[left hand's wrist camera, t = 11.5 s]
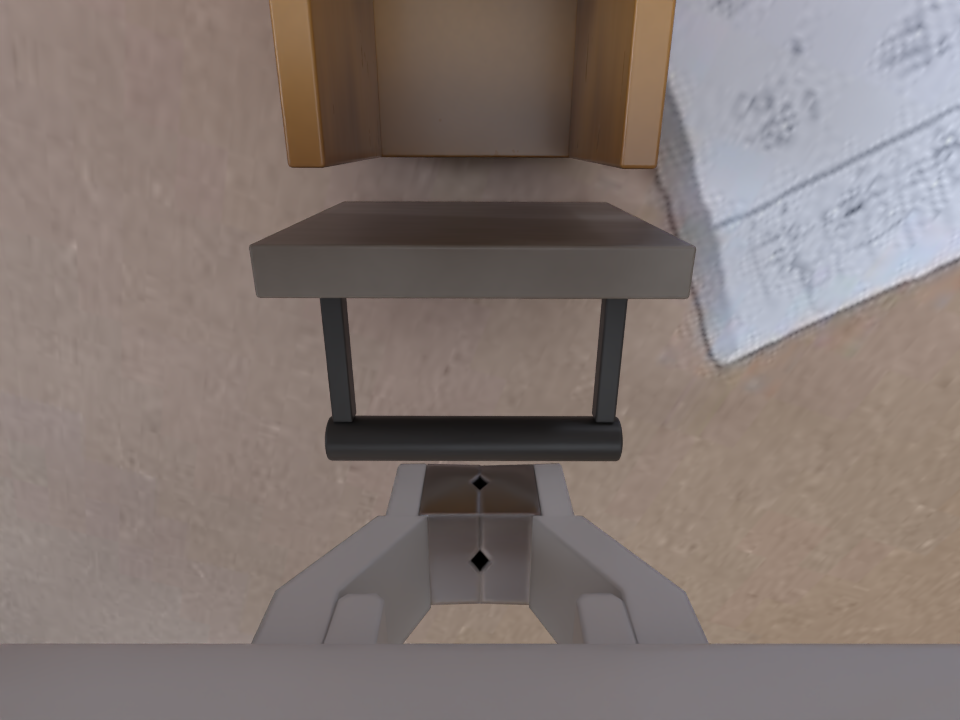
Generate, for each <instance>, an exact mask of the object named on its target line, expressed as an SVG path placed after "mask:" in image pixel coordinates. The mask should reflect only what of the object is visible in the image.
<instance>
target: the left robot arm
mask: <svg viewBox="0 0 960 720" xmlns="http://www.w3.org/2000/svg"><path fill="white" fill-rule="evenodd" d="M477 603H481V604H517V605H529V608H530V609H531V610H532V611H533V613H534V614H535V615H536V617H537V618H538V619H539V620H540V622H541V623H542V624H543V626H544V627H545V628H546V629H547V631H548V632H549V633H550V635H551V636H552V637H553V639H554V640H555V641H556V642H557V644H403V643H404V641H405V640H406V639H407V638H408V636H409V635H410V634H411V632H412V631H413V630H414V629H415V627H416V626H417V625H418V624H419V622H420V621H421V620H422V618H423V617H424V616H425V615H426V613H427V612H428V611H429V609H430V608H431V605H442V604H477ZM0 720H960V644H709V643H708V641H707V639H706V636H705V634H704V632H703V630H702V628H701V625H700V623H699V621H698V619H697V617H696V614H695V612H694V610H693V608H692V606H691V603H690V601H689V599H688V597H687V595H686V592H685V591H684V590H682V589H681V588H679V587H678V586H677V585H675V584H674V583H673V582H671V581H670V580H669V579H667V578H666V577H665V576H663V575H662V574H660V573H659V572H658V571H656V570H655V569H654V568H652V567H651V566H650V565H648V564H647V563H645V562H644V561H643V560H641V559H640V558H639V557H637V556H636V555H635V554H633V553H632V552H631V551H629V550H628V549H626V548H625V547H624V546H622V545H621V544H620V543H618V542H617V541H616V540H614V539H613V538H612V537H610V536H609V535H607V534H606V533H605V532H603V531H602V530H601V529H599V528H598V527H597V526H595V525H594V524H593V523H591V522H590V521H588V520H587V519H586V518H584V517H583V516H574V512H573V508H572V505H571V501H570V497H569V493H568V489H567V485H566V481H565V477H564V473H563V470H562V466H561V465H560V464H559V463H555V464H528V465H488V466H480V465H457V464H428V465H426V464H400V466H399V467H398V469H397V473H396V477H395V481H394V485H393V489H392V493H391V496H390V500H389V504H388V508H387V512H386V516H377V517H376V518H374V519H373V520H372V521H370V522H369V523H367V524H366V525H365V526H363V527H362V528H361V529H359V530H358V531H357V532H355V533H354V534H352V535H351V536H350V537H348V538H347V539H346V540H344V541H343V542H342V543H340V544H339V545H337V546H336V547H335V548H333V549H332V550H331V551H329V552H328V553H327V554H325V555H324V556H322V557H321V558H320V559H318V560H317V561H316V562H314V563H313V564H312V565H310V566H309V567H307V568H306V569H305V570H303V571H302V572H301V573H299V574H298V575H296V576H295V577H294V578H292V579H291V580H290V581H288V582H287V583H286V584H284V585H283V586H281V587H280V588H279V589H277V590H276V591H275V593H274V595H273V597H272V599H271V602H270V604H269V606H268V608H267V610H266V613H265V615H264V617H263V619H262V621H261V623H260V626H259V628H258V630H257V632H256V634H255V636H254V639H253V641H252V643H251V644H0Z"/></svg>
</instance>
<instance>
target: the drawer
mask: <svg viewBox="0 0 960 720" xmlns="http://www.w3.org/2000/svg"><path fill="white" fill-rule="evenodd" d="M269 5H270V14H271V22H272V31H273V39H274V48H275V56H276V65H277V74H278V82H279V91H280V99H281V108H282V116H283V125H284V134H285V142H286V151H287V159H288V165H289V166H290V167H292V168H324V167H329V166H335V165H340V164H346V163H351V162H356V161H362V160H367V159H373V158H378V157H486V158H574V159H578V160H583V161H588V162H593V163H598V164H603V165H607V166H612V167H617V168H622V169H654V168H656V166H657V164H658V155H659V146H660V137H661V128H662V120H663V111H664V102H665V93H666V85H667V76H668V67H669V58H670V50H671V41H672V32H673V23H674V14H675V6H676V0H269ZM249 250H250V257H251V263H252V270H253V277H254V283H255V290H256V295H257V297H260V298H320V304H321V313H322V323H323V332H324V342H325V351H326V361H327V370H328V380H329V389H330V399H331V408H332V416H331V417H330V418H329V420H328V423H327V426H326V432H325V449H326V454H327V457H328V459H329V460H332V461H618V460H619V459H620V457H621V453H622V446H623V437H622V428H621V424H620V421H619V419H618V418H617V417H615V415H616V406H617V396H618V387H619V377H620V368H621V358H622V348H623V339H624V329H625V320H626V310H627V300H628V299H687V298H688V297H689V294H690V287H691V280H692V273H693V266H694V259H695V253H696V247H695V246H693V245H691V244H689V243H687V242H685V241H683V240H681V239H679V238H677V237H675V236H673V235H671V234H669V233H667V232H665V231H663V230H661V229H659V228H657V227H655V226H653V225H651V224H649V223H647V222H645V221H643V220H641V219H639V218H637V217H635V216H633V215H631V214H629V213H627V212H625V211H623V210H621V209H619V208H617V207H615V206H613V205H611V204H609V203H607V202H342V203H340V204H338V205H335V206H333V207H331V208H329V209H327V210H325V211H322V212H320V213H318V214H316V215H314V216H312V217H309V218H307V219H305V220H303V221H301V222H299V223H296V224H294V225H292V226H290V227H288V228H286V229H283V230H281V231H279V232H277V233H275V234H273V235H271V236H268V237H266V238H264V239H262V240H260V241H258V242H255V243H253V244H251V245H250V247H249ZM346 298H512V299H602V304H601V316H600V327H599V339H598V350H597V362H596V373H595V385H594V396H593V408H592V414H593V416H355V415H356V404H355V393H354V382H353V370H352V359H351V347H350V336H349V325H348V313H347V302H346Z"/></svg>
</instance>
